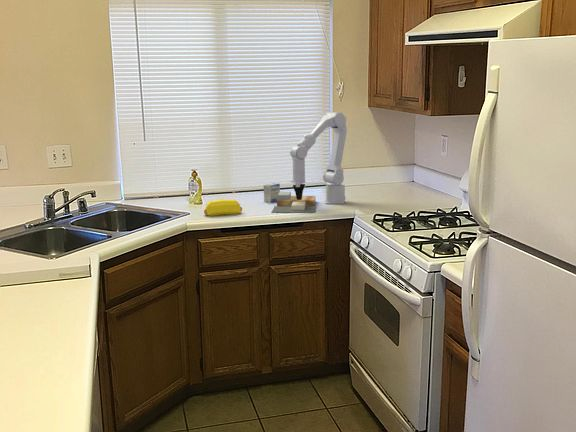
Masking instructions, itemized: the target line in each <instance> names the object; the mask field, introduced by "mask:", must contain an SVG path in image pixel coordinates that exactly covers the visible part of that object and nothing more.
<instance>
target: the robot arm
mask: <svg viewBox="0 0 576 432" xmlns="http://www.w3.org/2000/svg"><path fill="white" fill-rule="evenodd" d="M327 128H331V129H332V130H333V131H334V136H333V144H332V149H331V155H330V160H329V161H330V162H329V164H328V165H327V166H326V167H325V171H324V172H323V175H322V179H323V180H324V182H325V202H324V204H326V205H330V204H332V205H333V204H336V205H339V204H340V205H341V204H342V205H343V204H346V203H345V201H346V193H345V191H346V190H345V189H346V186H345V184H343V183H344V179H345V177H344V169H343V167H342V160H343V155H344V150H345V143H346V137H347V133H348V132H347V131H348V129H347V117H346V116H345V114H344V113H343V112H334V111H333V112H332V111H327V112H326V113H325V114H324V115H323V116H322V117H321V119H320V121H319V122H318V123H317V125H316V126H315V127H314V128H313V130H312V131H311V132H310V133H307V134H304V135H303V136H302V139H301V140H300V141H299V142H298V143H296V145H294V146H292V148H291V149H290V152H289V155H290V157H291V160H292V179H291V180H290V183H293V185H292V188H293V190H294V193H295V196H296V198H297V200H301V199H302V196H303V193H304V189H305V186H306V170H305V169H306V168H305V167H306V163H305V158H306V157H308V152H309V150H310V149H311V148H312V147H313V146H314V145H315V144H316V141H317V138H318V137H319V136H320V135H321V134H323V132H324V131H325V130H326V129H327ZM304 183H305V184H304Z"/></svg>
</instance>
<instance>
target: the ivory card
mask: <svg viewBox="0 0 576 432" xmlns="http://www.w3.org/2000/svg"><path fill="white" fill-rule="evenodd" d="M305 206H306V202H293V203H292V205H291V210H304V209H305Z"/></svg>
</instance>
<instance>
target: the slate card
mask: <svg viewBox="0 0 576 432" xmlns="http://www.w3.org/2000/svg"><path fill="white" fill-rule="evenodd" d="M291 196H292V191H280V192H279V194H278V200H289V199H290V197H291Z"/></svg>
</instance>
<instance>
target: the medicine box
mask: <svg viewBox="0 0 576 432" xmlns="http://www.w3.org/2000/svg"><path fill="white" fill-rule="evenodd" d="M279 192H281V185H280V183H276V182H271V183H267V184H263V202H264V203H269V204H270V203H274V202H277V199H278V194H279Z"/></svg>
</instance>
